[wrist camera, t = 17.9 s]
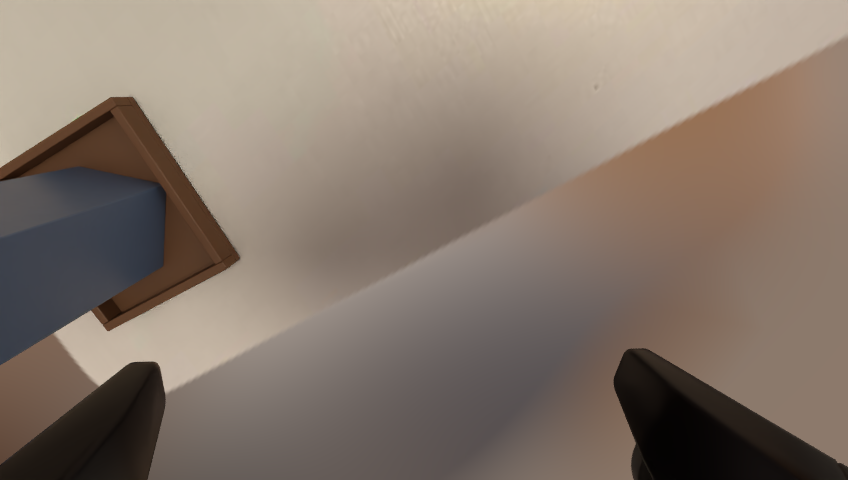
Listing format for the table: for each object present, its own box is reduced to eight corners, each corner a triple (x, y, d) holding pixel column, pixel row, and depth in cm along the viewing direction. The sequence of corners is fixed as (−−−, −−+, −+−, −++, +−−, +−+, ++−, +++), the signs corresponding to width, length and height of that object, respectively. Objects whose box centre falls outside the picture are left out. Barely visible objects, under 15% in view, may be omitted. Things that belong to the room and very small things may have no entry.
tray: (240, 258, 22) (227, 268, 21) (126, 318, 24) (107, 331, 22) (132, 96, 20) (110, 96, 19) (14, 171, 22) (-15, 176, 20)
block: (166, 184, 21) (-65, 258, 12) (163, 266, 22) (-49, 395, 13) (78, 165, 21) (-229, 225, 11) (79, 249, 22) (-198, 366, 13)
